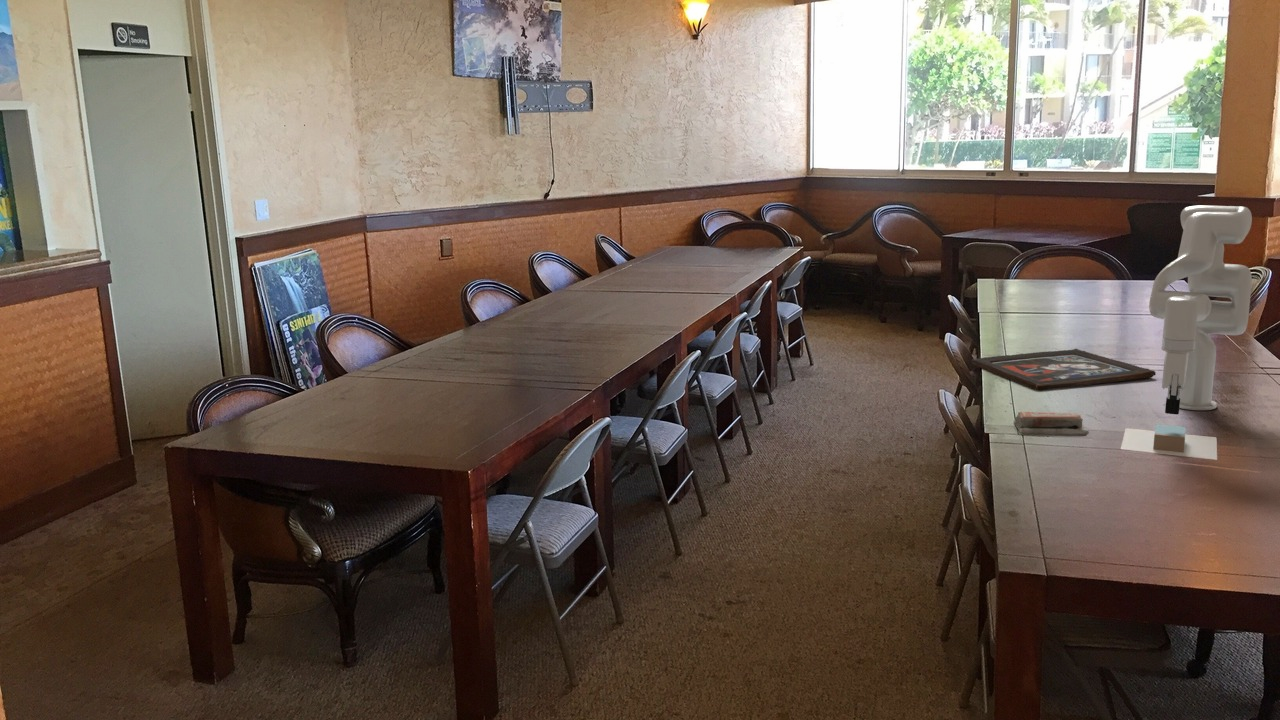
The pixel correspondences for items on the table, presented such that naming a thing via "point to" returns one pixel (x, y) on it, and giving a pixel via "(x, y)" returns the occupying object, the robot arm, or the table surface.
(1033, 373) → the religious icon
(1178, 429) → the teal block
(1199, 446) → the board
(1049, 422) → the packaged product
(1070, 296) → the table surface
